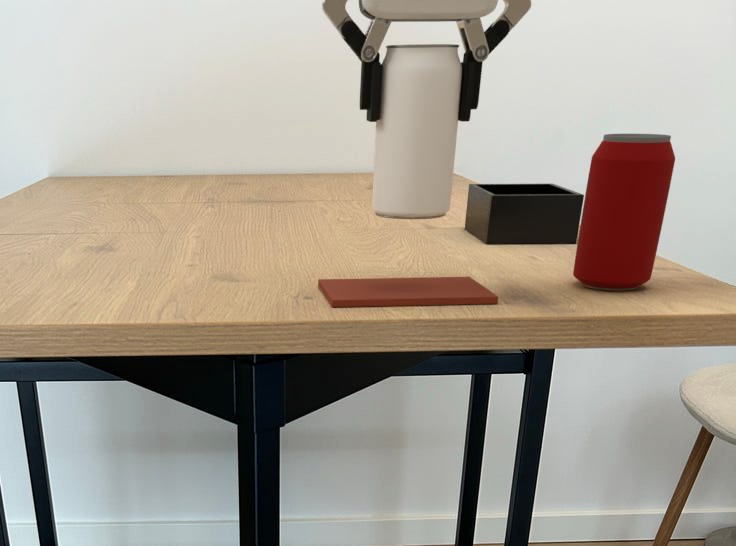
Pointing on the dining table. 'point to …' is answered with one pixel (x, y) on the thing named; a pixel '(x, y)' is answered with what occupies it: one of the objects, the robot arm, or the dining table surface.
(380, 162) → the can
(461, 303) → the mat
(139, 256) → the dining table surface
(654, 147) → the beverage can
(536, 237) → the box
